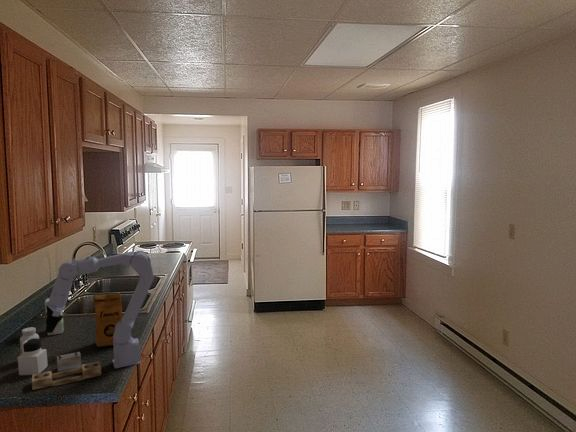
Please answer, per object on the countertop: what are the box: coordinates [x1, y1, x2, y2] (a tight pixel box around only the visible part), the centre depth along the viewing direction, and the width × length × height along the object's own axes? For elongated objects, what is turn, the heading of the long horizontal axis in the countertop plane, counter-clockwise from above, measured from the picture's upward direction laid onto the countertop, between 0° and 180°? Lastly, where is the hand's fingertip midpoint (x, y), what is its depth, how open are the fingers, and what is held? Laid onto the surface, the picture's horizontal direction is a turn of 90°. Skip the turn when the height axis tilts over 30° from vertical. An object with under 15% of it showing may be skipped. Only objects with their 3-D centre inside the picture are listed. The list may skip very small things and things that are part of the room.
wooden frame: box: [31, 360, 102, 391], centre depth 161 cm, size 22×7×3 cm, turn 118°
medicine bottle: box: [17, 338, 48, 376], centre depth 167 cm, size 7×7×12 cm
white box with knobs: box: [56, 351, 82, 373], centre depth 170 cm, size 8×4×6 cm, turn 118°
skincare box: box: [44, 297, 65, 336], centre depth 206 cm, size 8×7×16 cm
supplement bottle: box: [19, 326, 40, 355], centre depth 176 cm, size 7×7×13 cm
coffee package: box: [93, 292, 124, 348], centre depth 191 cm, size 10×12×22 cm
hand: (48, 328), depth 164 cm, fingers open, 7 cm apart
